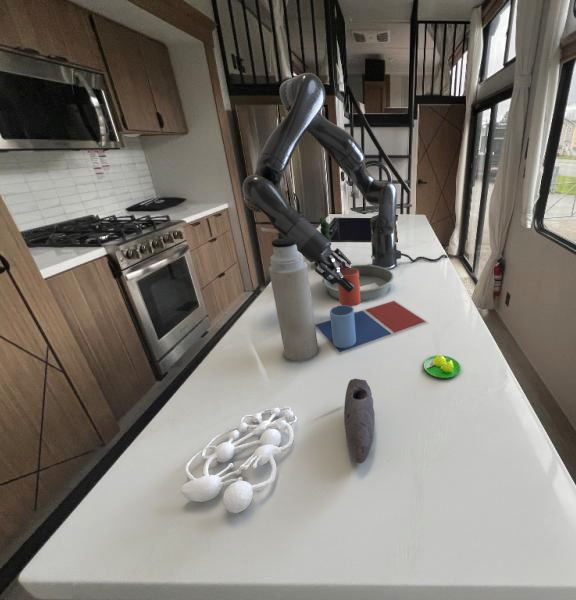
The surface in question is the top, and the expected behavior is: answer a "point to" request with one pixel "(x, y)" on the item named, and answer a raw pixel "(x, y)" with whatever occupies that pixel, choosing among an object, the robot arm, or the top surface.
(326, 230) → the toy figurine
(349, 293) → the red tumbler
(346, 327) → the blue tumbler
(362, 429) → the perforated stone tool
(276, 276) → the thermos bottle
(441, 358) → the green plate with lumps
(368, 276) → the cake pan
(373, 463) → the top surface
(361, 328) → the blue mat
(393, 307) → the red mat
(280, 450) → the tangled rod sculpture
